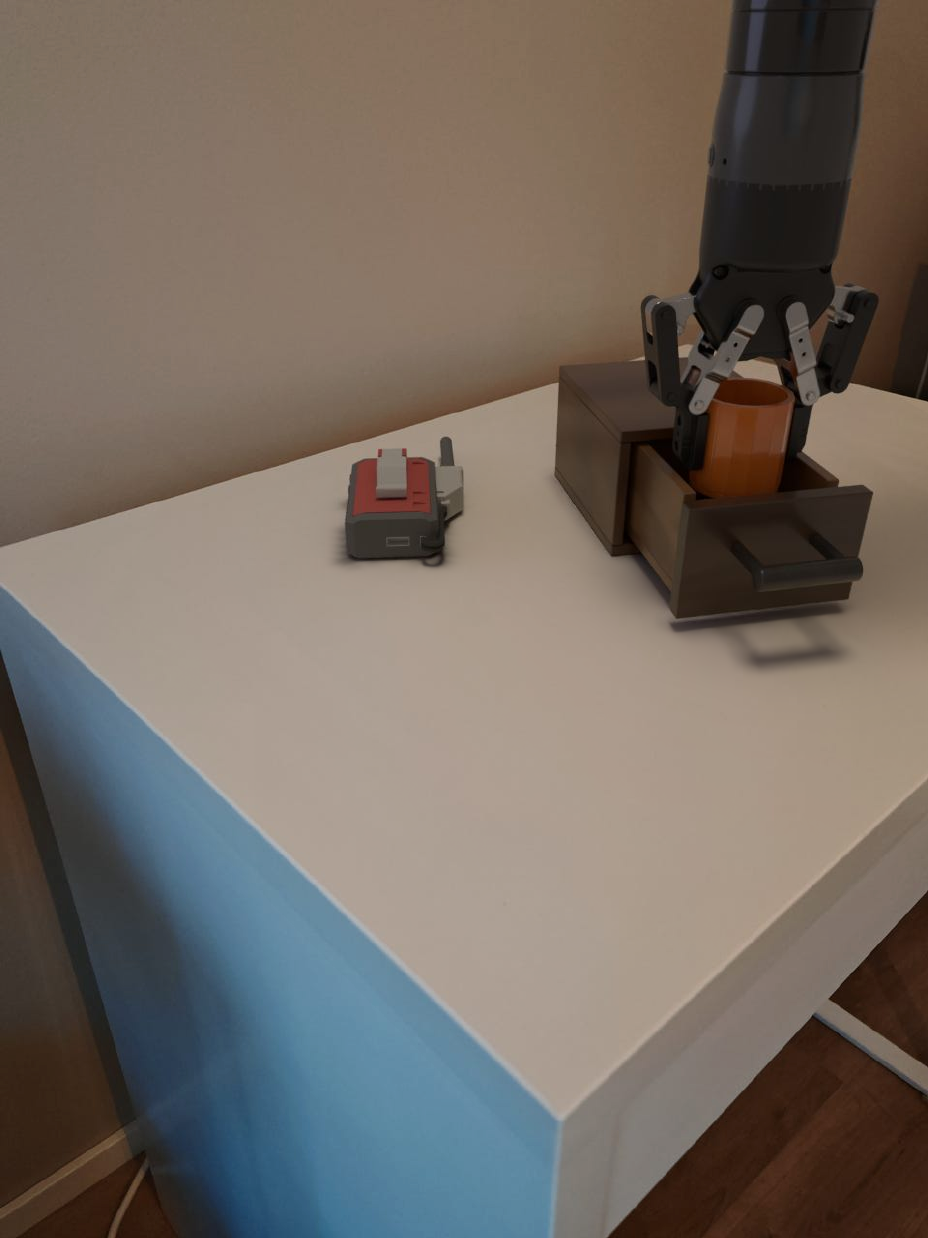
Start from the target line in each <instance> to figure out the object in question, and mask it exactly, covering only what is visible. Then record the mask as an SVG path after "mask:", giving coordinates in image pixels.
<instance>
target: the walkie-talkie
mask: <svg viewBox="0 0 928 1238" xmlns="http://www.w3.org/2000/svg"><path fill="white" fill-rule="evenodd" d="M439 449H440V461H441V463H440V464H441V465H440V466H439V465H438V466H436V462H435V461H433V460H431V459H428V458H426V457H423V456H410V457H409V456H408V452H407V451H408V450H407V448H405V447H404V448H401V447H400V448H377V457H373V458H372V457H371V458H368V457H367V458H366V457H365V458H363V459H361V460H358V461H356V462H354V463H352V464H351V468H350V470H351V471H350V474H349V479H348V480H349V484H348V487H347V502H346V504H347V505H346V511H345V519H344V520H345V521H344V528H345V541H346V552H347V554H349V555H351V556H352V557H355V558H357V559H392V558H393V559H394V558H395V559H396V558H423V557H424V558H425V557H426V558H427V557H429V556H431V555H433V554H436V553H438V552H441V551H443V549H444V548H445V546H446V541H445V540H446V538H445V537H446V535H445V525H444V524H445V523H444V521H447V520H449V519H450V518H452V517H454V516H455V515H456V514H458V513H460V512H461V511H462V510H463V509H464V490H465V489H464V487H465V486H464V467H463V466H462V465H455V459H454V458H455V457H454V450H453V449H454V448H453V441H452V439H451V437H449V436H443V437H441V438H440V440H439Z"/></svg>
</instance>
